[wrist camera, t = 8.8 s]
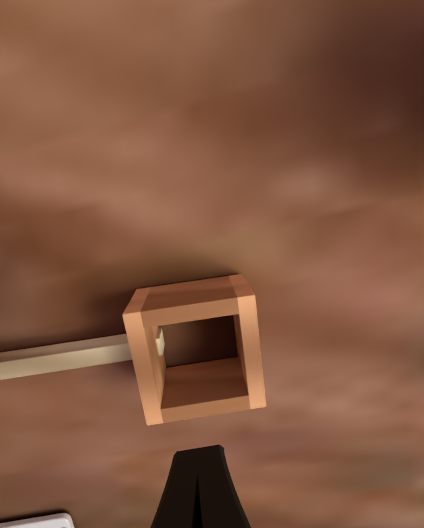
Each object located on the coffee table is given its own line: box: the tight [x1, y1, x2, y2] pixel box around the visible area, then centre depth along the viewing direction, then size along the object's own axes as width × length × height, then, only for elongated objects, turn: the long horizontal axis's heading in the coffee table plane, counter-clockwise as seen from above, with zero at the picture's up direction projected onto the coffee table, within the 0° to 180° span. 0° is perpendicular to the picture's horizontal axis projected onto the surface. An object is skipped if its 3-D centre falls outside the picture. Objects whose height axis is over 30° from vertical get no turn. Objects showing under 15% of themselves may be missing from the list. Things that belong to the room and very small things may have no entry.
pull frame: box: [0, 274, 266, 425], centre depth 14 cm, size 15×23×4 cm, turn 97°
